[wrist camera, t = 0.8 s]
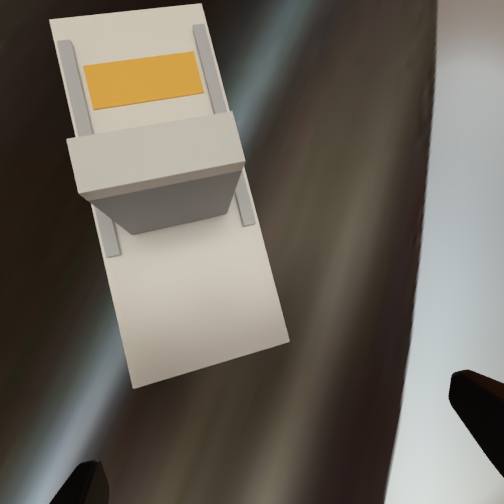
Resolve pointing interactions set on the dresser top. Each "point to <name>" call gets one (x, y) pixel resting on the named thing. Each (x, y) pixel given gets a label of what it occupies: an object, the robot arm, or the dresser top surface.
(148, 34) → the white slider track base
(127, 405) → the dresser top surface
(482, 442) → the robot arm
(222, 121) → the fader tab
